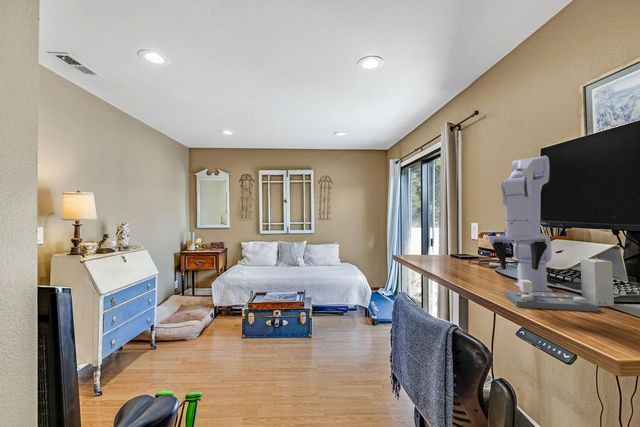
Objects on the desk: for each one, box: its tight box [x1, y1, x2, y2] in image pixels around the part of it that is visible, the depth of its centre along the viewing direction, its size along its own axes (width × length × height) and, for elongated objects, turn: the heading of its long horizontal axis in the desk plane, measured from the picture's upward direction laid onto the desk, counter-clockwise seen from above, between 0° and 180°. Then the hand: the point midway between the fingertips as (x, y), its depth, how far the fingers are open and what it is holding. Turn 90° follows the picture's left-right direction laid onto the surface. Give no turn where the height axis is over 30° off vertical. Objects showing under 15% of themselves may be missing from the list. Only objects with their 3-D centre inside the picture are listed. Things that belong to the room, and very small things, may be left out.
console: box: [503, 289, 600, 312], centre depth 84 cm, size 12×18×3 cm, turn 72°
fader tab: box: [518, 280, 533, 295], centre depth 85 cm, size 3×2×4 cm
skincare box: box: [580, 258, 615, 307], centre depth 82 cm, size 6×4×12 cm
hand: (518, 268), depth 83 cm, fingers open, 7 cm apart
